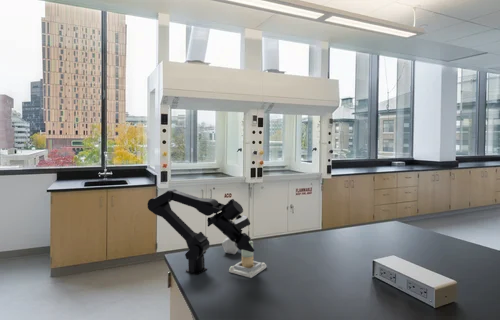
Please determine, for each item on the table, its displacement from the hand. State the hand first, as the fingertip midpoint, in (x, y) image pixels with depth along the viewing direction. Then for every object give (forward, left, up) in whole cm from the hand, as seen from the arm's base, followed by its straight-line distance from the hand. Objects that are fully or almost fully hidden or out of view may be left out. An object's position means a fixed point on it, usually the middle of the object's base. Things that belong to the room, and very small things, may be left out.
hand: (250, 248), depth 135 cm
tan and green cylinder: (-1, +1, -8) cm, 8 cm away
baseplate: (-1, +1, -9) cm, 9 cm away
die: (+12, +19, -9) cm, 24 cm away
